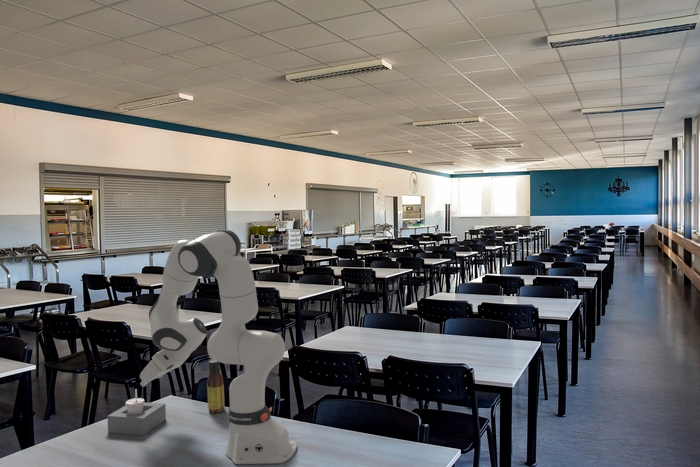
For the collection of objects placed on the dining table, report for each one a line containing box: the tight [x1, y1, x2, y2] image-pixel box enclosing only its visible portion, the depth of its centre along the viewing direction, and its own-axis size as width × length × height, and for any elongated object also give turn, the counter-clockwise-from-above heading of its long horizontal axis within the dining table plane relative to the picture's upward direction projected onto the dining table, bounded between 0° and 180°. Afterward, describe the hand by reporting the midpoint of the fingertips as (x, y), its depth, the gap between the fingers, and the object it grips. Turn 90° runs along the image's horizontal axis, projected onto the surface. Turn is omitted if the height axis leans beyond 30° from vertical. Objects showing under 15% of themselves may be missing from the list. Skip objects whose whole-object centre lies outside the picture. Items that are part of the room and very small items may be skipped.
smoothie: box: [125, 388, 146, 415], centre depth 183 cm, size 6×6×14 cm
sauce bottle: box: [206, 359, 226, 414], centre depth 198 cm, size 6×6×20 cm
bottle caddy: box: [107, 402, 167, 436], centre depth 185 cm, size 14×14×6 cm
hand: (150, 380), depth 185 cm, fingers open, 8 cm apart
